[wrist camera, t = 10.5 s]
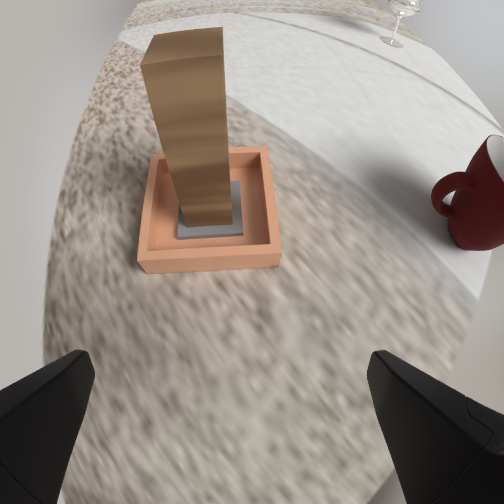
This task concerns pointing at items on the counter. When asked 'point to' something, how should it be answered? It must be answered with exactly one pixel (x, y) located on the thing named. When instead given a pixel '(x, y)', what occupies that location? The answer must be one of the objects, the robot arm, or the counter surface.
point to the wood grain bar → (194, 129)
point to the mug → (476, 199)
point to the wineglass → (401, 16)
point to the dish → (220, 248)
